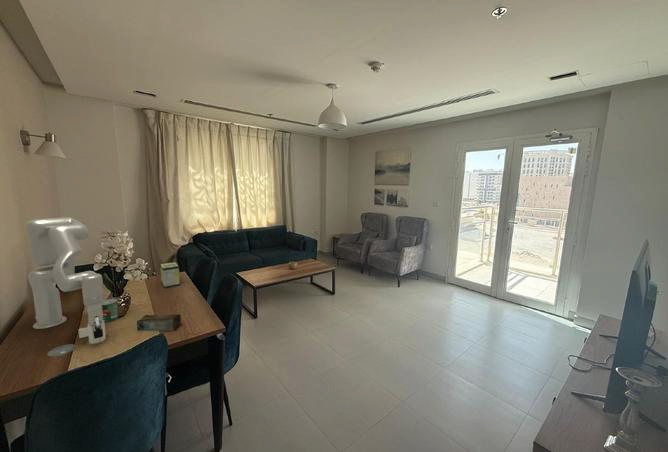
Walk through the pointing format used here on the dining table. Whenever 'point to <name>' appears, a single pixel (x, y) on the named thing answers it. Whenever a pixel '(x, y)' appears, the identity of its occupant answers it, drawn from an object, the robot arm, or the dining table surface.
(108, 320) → the canned tomato
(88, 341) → the post
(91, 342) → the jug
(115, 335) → the dining table surface
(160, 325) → the beverage carton
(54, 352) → the coaster
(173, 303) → the dining table surface
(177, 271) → the protein box
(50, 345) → the dining table surface
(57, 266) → the robot arm
